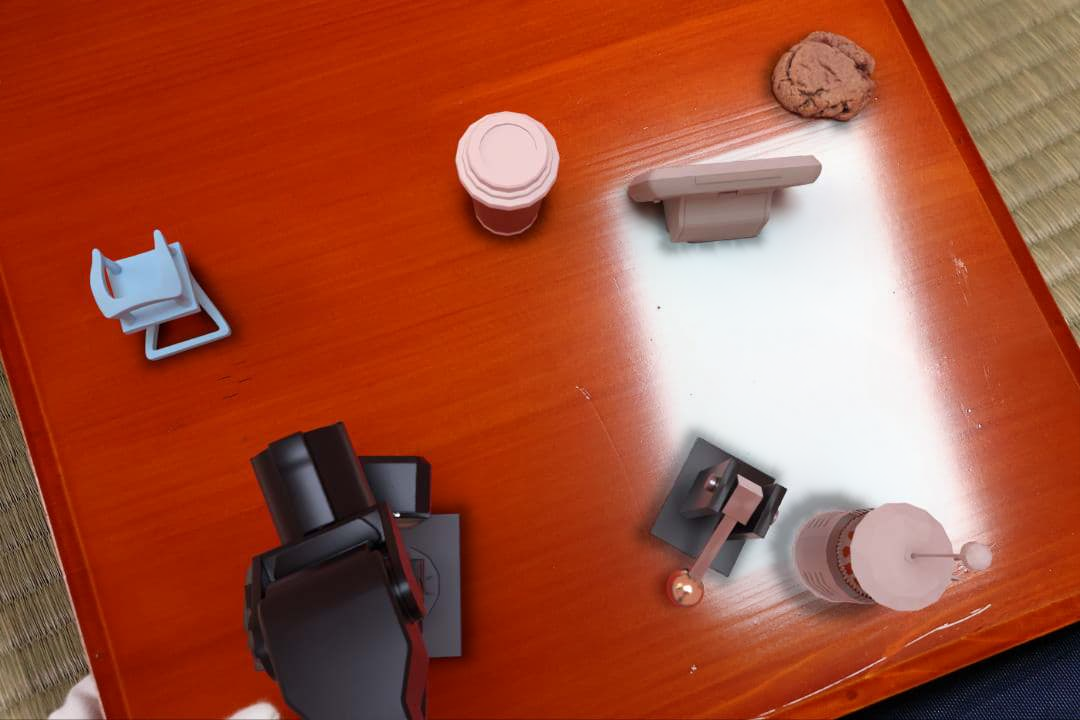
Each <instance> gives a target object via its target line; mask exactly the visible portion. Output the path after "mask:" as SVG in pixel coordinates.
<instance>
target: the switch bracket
mask: <svg viewBox="0 0 1080 720" xmlns="http://www.w3.org/2000/svg"><path fill="white" fill-rule="evenodd" d="M737 475H740V476H742V477H744V478H746V479H747V480H749V481H751V482H753V483H755V484H756V485H758V486H760V487H761V489H762V493H763V499H762V500H761V502H760V503H759V505H758V506H757V508H756V510H755V511H754V513H753V514H752V516H751V517H750V519H749V521H748V522H747V524H746V525H744V524H742V523H740V522H738V521H737V523H736V524H735V526H734V528H733V529H732V531H731V532H730V534H729V535H728V537H727V539H726V540H725V542H724V543H723V545H722V547H721V548H720V550H719V551H718V553H717V555H716V556H715V558H714V559H713V561H712V563H711V564H710V566H709V567H708V568H710V569H711V570H713V571H715V572H717V573H719V574H721V576H724V577H726V578H729V577H730V575H731V573H732V571H733V568H734V566H735V564H736V562H737V560H738V559H739V556H740V554H741V552H742V550H743V548H744V546H745V544H746V542H747V541H748V540H761V539H762V540H763V539H765V537H766V536H767V533H768V531H769V529H770V527H771V526H772V525H773V524H775V522H776V521H777V518H778V517H779V514H780V510H779V508H780V506H781V504H782V502H783V500H784V498H785V496H786V493H787V492H788V488H786V487H785V486H783V485H781V484H779V483H777V482H776V478H775V477H772V476H770V475H769V474H767V473H766V472H764V471H762V470H760V469H758V468H757V467H755V466H752V464H749V463H747V462H745V461H744V460H742V459H740V458H738V457H736V456H735V455H733V454H731V453H729V452H728V451H725V450H723V449H722V448H720V447H718V446H716V445H714V444H713V443H711V442H709V441H707V440H706V439H704V438H702V437H700V436H698V437H696V440H695V442H694V444H693V446H692V447H691V449H690V451H689V454H688V456H687V457H686V459H685V461H684V462H683V465H682V467H681V468H680V471H679V473H678V475H677V477H676V478H675V481H674V483H673V484H672V486H671V489H670V490H669V492H668V494H667V496H666V498H665V500H664V502H663V504H662V506H661V508H660V510H659V512H658V514H657V516H656V518H655V520H654V522H653V523H652V526H651V528H650V529H649V531H648V534H649V535H651V536H653V537H655V538H656V539H658V540H660V541H662V542H663V543H666V544H667V545H668V546H670V547H672V548H674V549H676V550H678V551H679V552H681V553H682V554H684V555H686V556H689V557H690V558H692V559H694V560H695V558H696V556H697V555H698V553H699V552H700V550H701V548H702V547H703V545H704V543H705V542H706V540H707V539H708V537H709V535H710V534H711V532H712V531H713V529H714V527H715V526H716V524H717V523H718V521H719V519H720V518H721V516H722V515H723V513H722V512H721V507H722V505H723V503H724V501H725V499H726V497H727V495H728V493H729V491H730V489H731V487H732V485H733V483H734V481H735V479H736V477H737ZM775 482H776V483H775Z"/></svg>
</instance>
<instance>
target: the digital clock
mask: <svg viewBox="0 0 1080 720" xmlns="http://www.w3.org/2000/svg"><path fill="white" fill-rule="evenodd" d="M822 165H823V164H822V163H821V161H819V159H817V157H815V155H812V154H810V155H808V154H807V155H792V156H784V157H783V156H781V157H770V158H758V159H747V160H735V161H734V160H733V161H723V162H713V163H712V162H711V163H702V164H690V165H679V166H668V167H667V166H666V167H659V168H654V169H651V170H648V171H645V172H643V173H641V174H638V175H636V176H634V177H633V178H632V180H631V181H630V183H628V184H629V185H628V186H627V191H628V195H629V196H630V197H631V199H632V200H633V201H635V202H636V203H644V202H653V204H656V203H661V201H662V204H663V210H664V217H665V223H666V229H667V233H668V234H669V239H670V243H672V244H675V243H676V244H677V243H684V242H685V243H688V244H690V243H700V242H712V241H721V240H732V239H733V240H734V239H743V238H753V237H754V238H755V237H758V235H759V234H760V233H761V231H762V230H763V229H764V228H765V227H766V226H767V225H768V223H769V220H770V217H771V214H770V213H771V204H772V199H773V194H774V191H777V190H778V191H779V190H784V189H788V188H794V187H799V186H806V185H810V184H814V183H815V182H816V181H817V180H818V179H819V177H820V175H821V173H822V170H823V166H822Z"/></svg>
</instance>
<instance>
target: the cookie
mask: <svg viewBox="0 0 1080 720" xmlns="http://www.w3.org/2000/svg"><path fill="white" fill-rule="evenodd" d="M875 67H876V60H875V59H874V58H873V56H872V55H871V54H870V53H868V51H866V50H865V49H863V48H862V47H861V46H859V45H857V44H856V42H854V41H852V40H851V39H849V38H847V37H846V36H843V35H841V34H837V33H833V32H827V31H824V30H823V31H819V30H816V31H812V32H811V33H810V34H809V35H808V36H807V37H805V38H804V39H802V40H800V41H799V43H797V44H794V45H793V46H791V47H790V49H789V51H787V52H784V53H783V54H782V55H781V57H780V59H779V60H778V62H777V64H776V66H775V68H774V69H773V72H772V76H771V78H770V79H771V80H770V81H771V83H772V92H773V94H774V97H776V99H777V101H778V102H779V103H780V104H781V105H782V107H783V108H784V109H786V110H787V111H790V112H794V113H797V114H798V113H799V114H801V116H802V117H806V118H809V117H811V116H812V117H813V118H816V117H817V118H819V117H823V118H824V117H830V118H832V117H834V118H835V119H837V120H840V121H848V120H851V119H852V118H853V117H854V116H856V115H858V114H859V113H860V112H861V111H862V110H863V109H864V108H865V107H866V106H867V105H868V104H869V102H870V100H871V96H872V94H873V91H874V89H875V87H876V82H875V80H873V79H871V78H870V76H871V75H873V73H874V71H875Z"/></svg>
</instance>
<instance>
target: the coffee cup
mask: <svg viewBox="0 0 1080 720" xmlns="http://www.w3.org/2000/svg"><path fill="white" fill-rule="evenodd" d="M560 159H561V158H560V154H559V150H558V146H557V142H556V139H555V138H554V137H553V135H552V134H551V133H550V132H549V131H548V129H547V128H546V126H545V125H544V124H543V123H541V122H540V121H538V120H536V119H534V118H532V117H531V116H530V115H528V114H526V113H519V112H514V111H507V110H505V111H500V112H494V113H490V114H486V115H484V116H483V117H482V118H480V119H478V120H477V121H475V122H473V123H472V124H469V126H468V128H467V129H466V131H465V132H464V133H463V135H462V136H461V137H460V139H459V141H458V143H457V150H456V154H455V161H454V162H455V166H456V170H457V175H458V180H459V182H460V184H461V185H462V186H463V187H464V189H465V190H466V192H467V193H468V194H469V196H470V197H471V200H472V203H473V208H474V212H475V216H476V218H477V220H478V221H479V223H480V224H481V225H482V226H483V228H485V229H486V230H487V231H490V232H491V233H493V234H495V235H501V236H506V237H509V236H513V235H517V234H521V233H523V232H525V231H526V230H527V229H529V228H530V227H531V226H532V225H533V223H534V222H535V220H536V219H537V218H538V215H539V210H540V208H541V205H542V201H543V199H544V197H546V196H547V194H548V193H549V191H550V190H551V188H552V187H553V186H554V184H555V183H556V181H557V178H558V171H559V166H560Z"/></svg>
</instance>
